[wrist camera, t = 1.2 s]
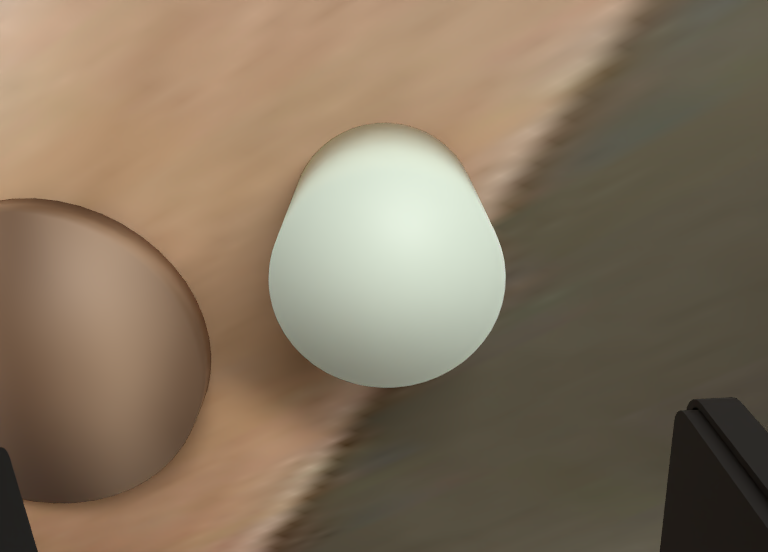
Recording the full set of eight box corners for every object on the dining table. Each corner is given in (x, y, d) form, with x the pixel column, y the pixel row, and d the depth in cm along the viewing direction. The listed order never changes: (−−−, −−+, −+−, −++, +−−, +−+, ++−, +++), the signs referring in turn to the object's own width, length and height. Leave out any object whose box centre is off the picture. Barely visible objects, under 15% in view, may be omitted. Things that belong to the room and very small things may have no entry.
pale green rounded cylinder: (282, 130, 23) (252, 178, 17) (472, 115, 23) (503, 158, 17) (311, 355, 26) (293, 457, 20) (479, 342, 26) (508, 442, 20)
